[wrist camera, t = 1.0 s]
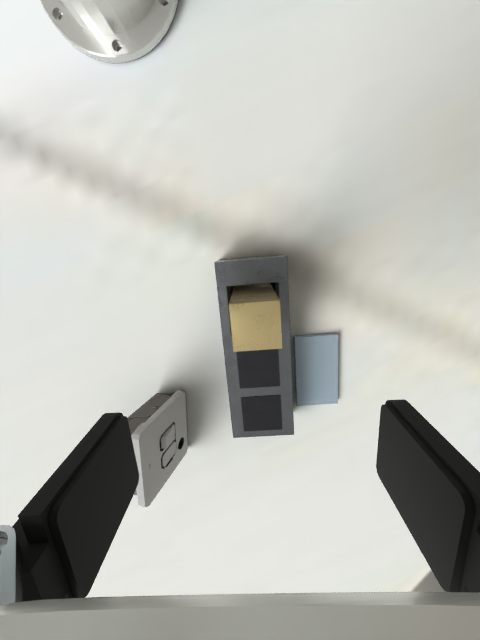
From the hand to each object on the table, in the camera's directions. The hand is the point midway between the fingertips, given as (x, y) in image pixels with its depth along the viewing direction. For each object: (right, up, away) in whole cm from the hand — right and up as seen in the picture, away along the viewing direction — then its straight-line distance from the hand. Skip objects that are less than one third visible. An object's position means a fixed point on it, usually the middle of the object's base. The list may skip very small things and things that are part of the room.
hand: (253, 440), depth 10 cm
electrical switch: (-10, -9, +26) cm, 29 cm away
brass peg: (+1, +7, +21) cm, 22 cm away
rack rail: (+1, +2, +23) cm, 23 cm away
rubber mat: (+9, -2, +23) cm, 25 cm away
